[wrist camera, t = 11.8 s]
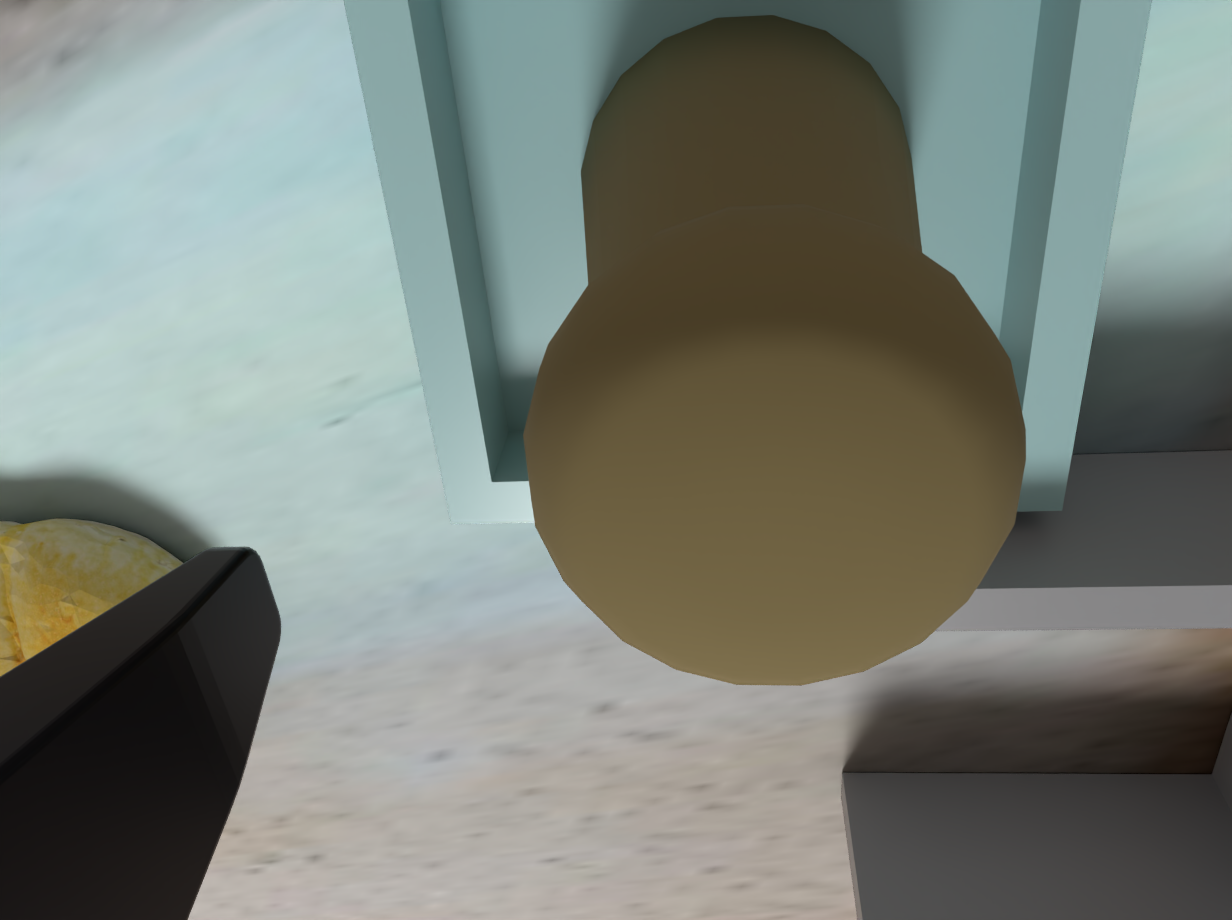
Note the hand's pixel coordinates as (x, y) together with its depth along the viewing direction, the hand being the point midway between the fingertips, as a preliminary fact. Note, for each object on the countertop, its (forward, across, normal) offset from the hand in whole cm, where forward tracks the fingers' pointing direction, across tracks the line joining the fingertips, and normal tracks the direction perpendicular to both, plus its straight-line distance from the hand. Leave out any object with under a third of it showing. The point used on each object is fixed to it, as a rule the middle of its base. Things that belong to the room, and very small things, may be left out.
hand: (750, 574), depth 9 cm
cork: (+12, 0, 0) cm, 12 cm away
